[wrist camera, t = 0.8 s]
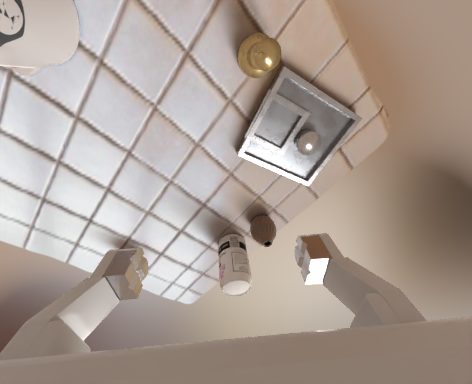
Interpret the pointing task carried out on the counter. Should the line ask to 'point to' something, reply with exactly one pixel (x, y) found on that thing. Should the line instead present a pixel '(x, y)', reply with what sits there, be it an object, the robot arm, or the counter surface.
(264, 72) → the gold peg with base
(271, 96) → the tray
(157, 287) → the counter surface
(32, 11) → the robot arm
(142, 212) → the counter surface
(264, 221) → the vase
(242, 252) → the supplement can
